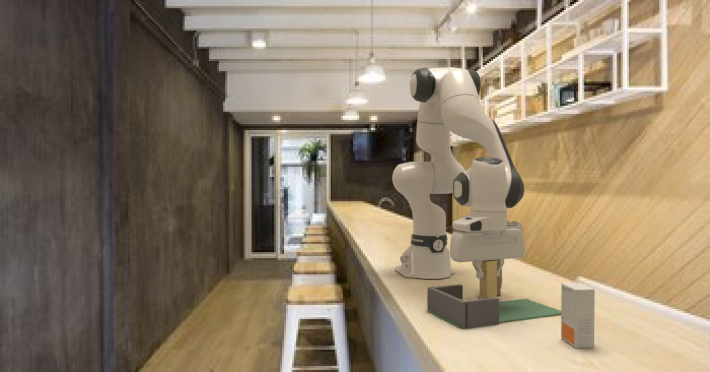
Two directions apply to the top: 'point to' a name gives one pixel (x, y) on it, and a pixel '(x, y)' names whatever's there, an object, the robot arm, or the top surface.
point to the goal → (462, 307)
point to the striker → (488, 280)
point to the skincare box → (577, 315)
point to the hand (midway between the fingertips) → (488, 277)
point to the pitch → (517, 311)
